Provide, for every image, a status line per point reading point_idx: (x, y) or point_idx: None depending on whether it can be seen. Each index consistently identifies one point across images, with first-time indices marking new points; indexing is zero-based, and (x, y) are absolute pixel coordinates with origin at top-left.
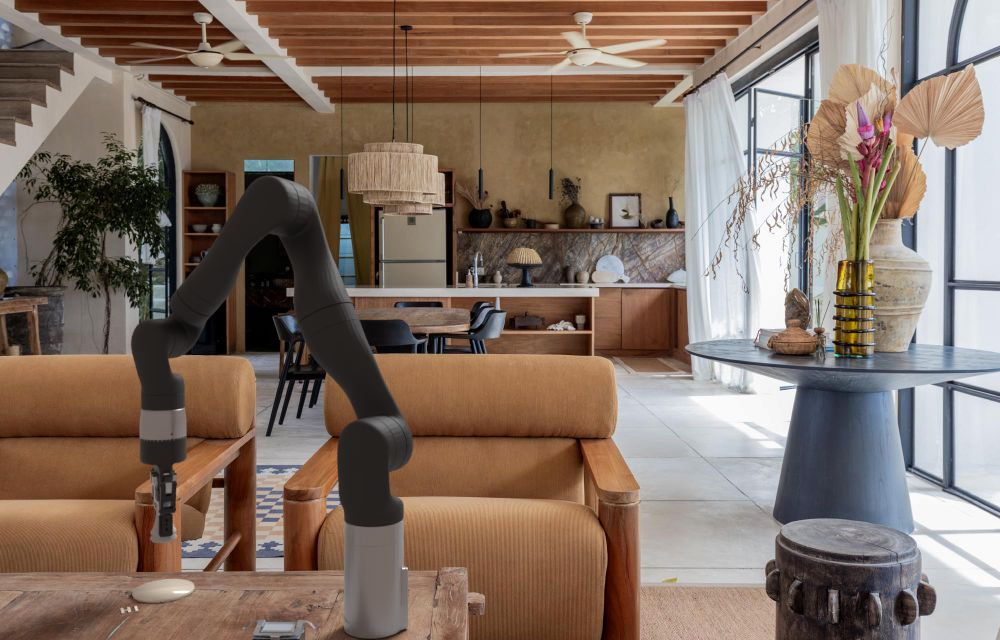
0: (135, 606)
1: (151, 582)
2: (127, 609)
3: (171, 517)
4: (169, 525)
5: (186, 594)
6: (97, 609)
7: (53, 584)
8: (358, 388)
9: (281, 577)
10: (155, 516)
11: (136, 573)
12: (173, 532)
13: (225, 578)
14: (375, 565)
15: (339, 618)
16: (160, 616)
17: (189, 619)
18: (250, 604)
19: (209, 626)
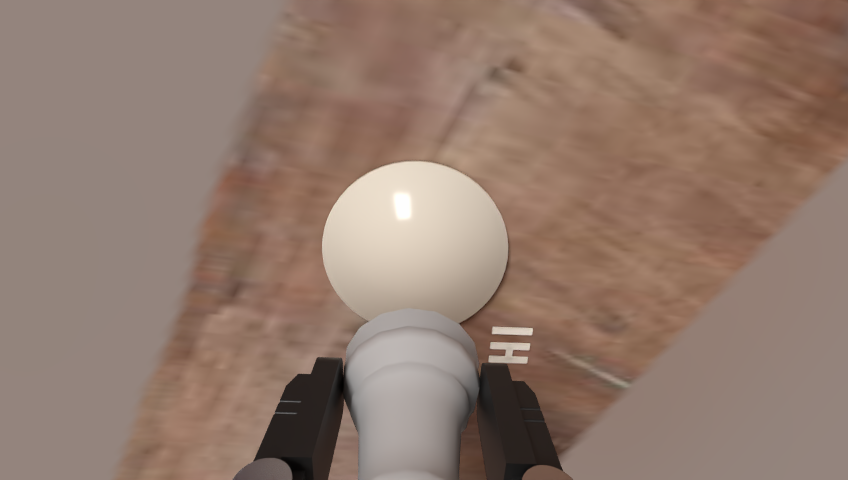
0: (497, 331)
1: (336, 277)
2: (507, 349)
3: (528, 451)
4: (543, 426)
5: (492, 200)
6: None
7: (222, 462)
8: None
9: None
10: (328, 474)
11: (196, 292)
12: (466, 352)
13: (370, 28)
14: None
15: None
16: (605, 287)
17: (683, 226)
18: (700, 14)
19: (777, 187)
